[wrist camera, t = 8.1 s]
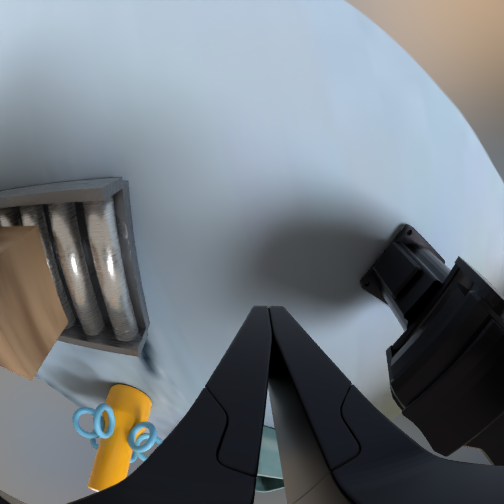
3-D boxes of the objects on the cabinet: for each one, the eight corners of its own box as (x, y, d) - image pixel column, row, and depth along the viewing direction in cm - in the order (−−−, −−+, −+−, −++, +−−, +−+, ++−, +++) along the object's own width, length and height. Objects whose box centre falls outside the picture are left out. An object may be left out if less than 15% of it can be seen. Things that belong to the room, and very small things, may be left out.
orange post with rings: (87, 391, 30) (56, 475, 17) (93, 356, 26) (48, 463, 13) (163, 424, 33) (147, 510, 20) (186, 398, 29) (169, 509, 16)
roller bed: (127, 174, 17) (102, 187, 14) (150, 327, 24) (139, 356, 20) (-8, 190, 17) (-33, 203, 13) (26, 306, 23) (10, 326, 20)
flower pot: (218, 434, 34) (215, 485, 26) (255, 414, 31) (256, 474, 23) (264, 446, 37) (265, 492, 29) (302, 428, 33) (309, 480, 25)
